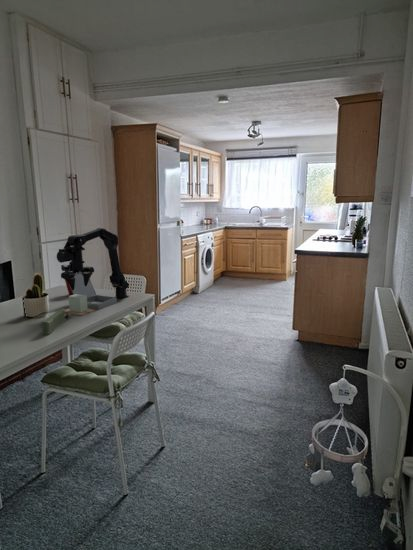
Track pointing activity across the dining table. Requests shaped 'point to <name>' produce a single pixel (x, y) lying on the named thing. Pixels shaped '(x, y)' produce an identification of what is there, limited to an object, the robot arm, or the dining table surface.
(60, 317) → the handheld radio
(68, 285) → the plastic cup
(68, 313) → the board
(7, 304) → the dining table surface
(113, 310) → the dining table surface
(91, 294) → the equipment case
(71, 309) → the block
